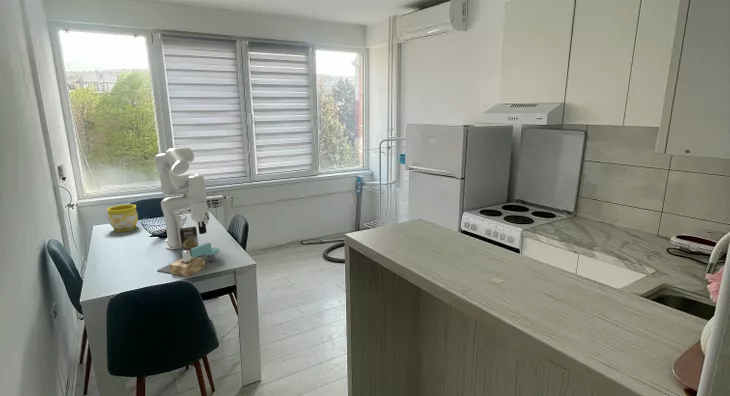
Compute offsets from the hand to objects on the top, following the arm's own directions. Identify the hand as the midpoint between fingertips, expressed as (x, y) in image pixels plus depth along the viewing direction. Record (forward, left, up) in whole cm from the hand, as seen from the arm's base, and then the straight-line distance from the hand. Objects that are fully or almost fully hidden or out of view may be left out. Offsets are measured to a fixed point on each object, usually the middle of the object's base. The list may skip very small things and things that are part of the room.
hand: (202, 233), depth 195 cm
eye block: (-9, -4, -21) cm, 23 cm away
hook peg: (-9, -4, -21) cm, 23 cm away
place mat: (-20, -6, -21) cm, 29 cm away
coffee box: (-25, +14, -21) cm, 36 cm away
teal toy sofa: (-7, +7, -21) cm, 23 cm away
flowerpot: (-109, +37, -21) cm, 117 cm away
